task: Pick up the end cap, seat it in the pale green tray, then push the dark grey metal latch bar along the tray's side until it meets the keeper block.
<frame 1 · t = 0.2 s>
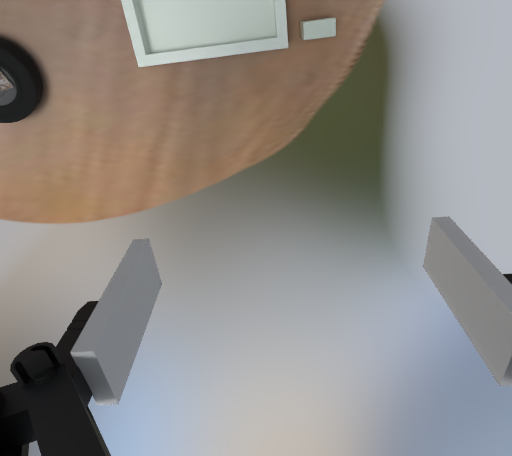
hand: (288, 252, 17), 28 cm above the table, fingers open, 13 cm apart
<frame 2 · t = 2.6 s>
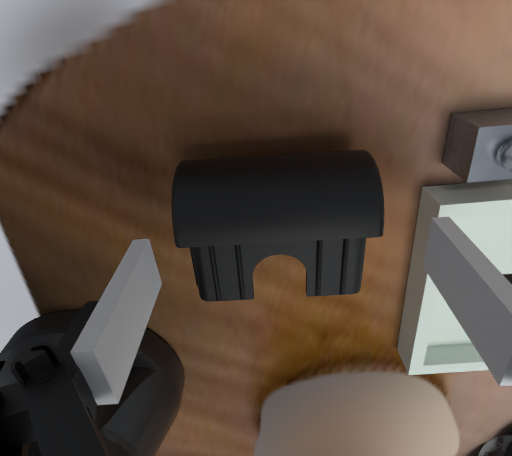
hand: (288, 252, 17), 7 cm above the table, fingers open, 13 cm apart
end cap: (272, 190, 23), on the table
latch: (499, 146, 20), point 2 cm above the table, slide at 0.0 cm
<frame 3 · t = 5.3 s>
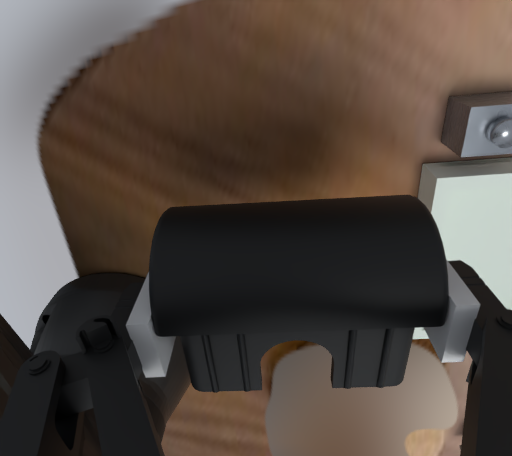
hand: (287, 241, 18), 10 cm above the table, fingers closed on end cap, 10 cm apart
end cap: (286, 234, 19), point 9 cm above the table, touching gripper
latch: (491, 125, 22), point 2 cm above the table, slide at 0.0 cm
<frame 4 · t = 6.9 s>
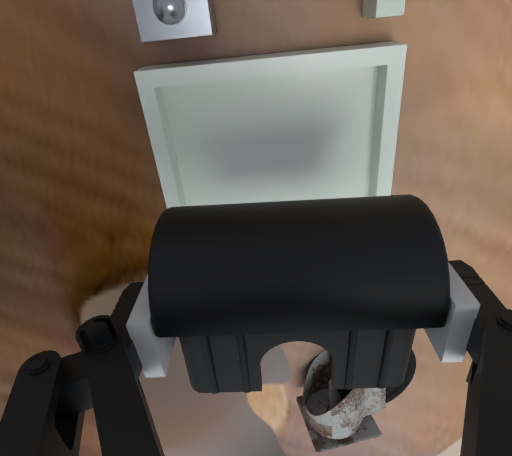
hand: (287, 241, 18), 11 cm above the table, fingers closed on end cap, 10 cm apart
end cap: (286, 234, 18), point 10 cm above the table, touching gripper
pale green tray: (274, 163, 27), on the table
latch: (175, 7, 20), point 2 cm above the table, slide at 0.0 cm
caster wheel: (349, 353, 38), on the table
when the fingers open (3 cm above the table, at t = 8.6 s): end cap drops 2 cm, resting on pale green tray.
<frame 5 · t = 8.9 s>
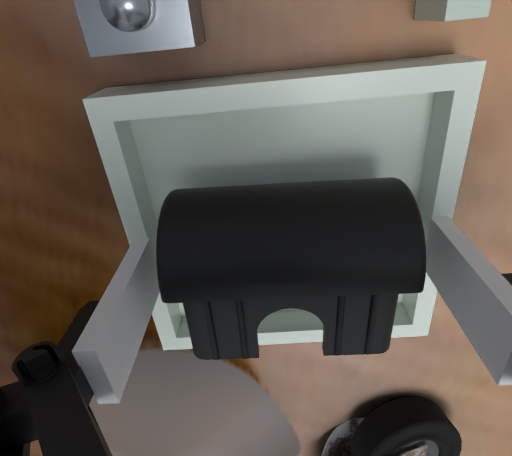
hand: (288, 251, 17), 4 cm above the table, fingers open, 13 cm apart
end cap: (281, 218, 20), point 1 cm above the table, touching pale green tray
pale green tray: (284, 214, 20), on the table
latch: (140, 5, 14), point 2 cm above the table, slide at 0.0 cm
caster wheel: (374, 424, 31), on the table
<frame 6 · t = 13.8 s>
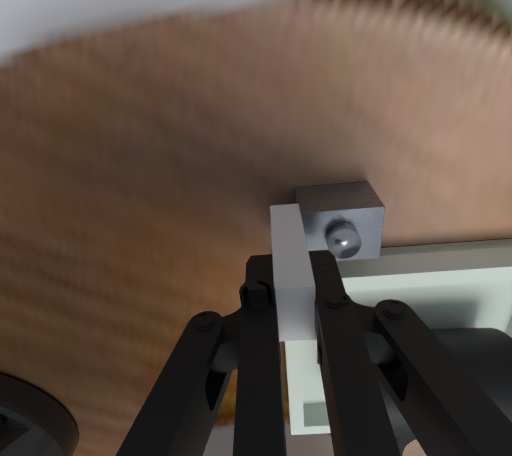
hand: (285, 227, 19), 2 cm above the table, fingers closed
end cap: (397, 339, 25), point 1 cm above the table, touching pale green tray
pale green tray: (396, 333, 26), on the table
latch: (337, 225, 19), point 2 cm above the table, slide at 0.2 cm, touching gripper
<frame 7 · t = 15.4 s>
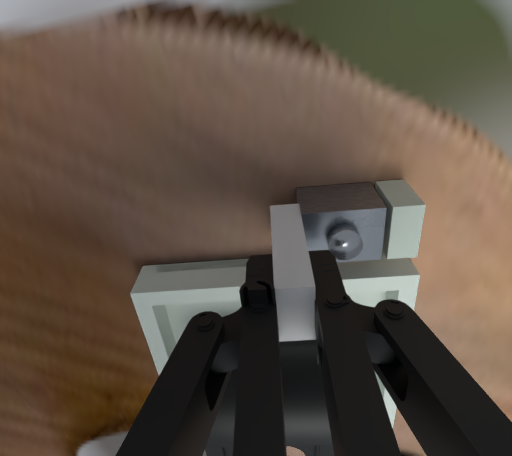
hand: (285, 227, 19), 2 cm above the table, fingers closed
end cap: (276, 347, 25), point 1 cm above the table, touching pale green tray
pale green tray: (277, 342, 26), on the table
latch: (338, 226, 19), point 2 cm above the table, slide at 8.7 cm, touching gripper
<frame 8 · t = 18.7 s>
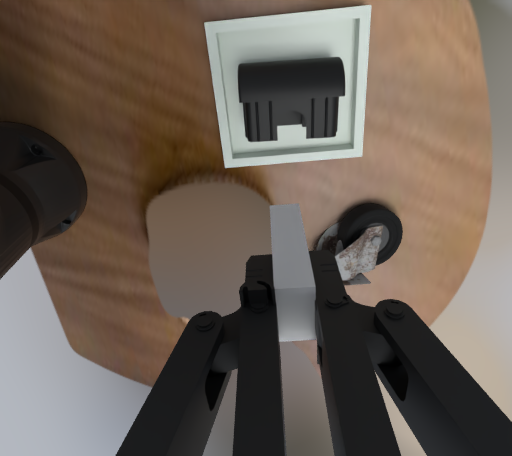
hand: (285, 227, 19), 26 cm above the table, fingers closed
end cap: (287, 91, 40), point 1 cm above the table, touching pale green tray
pale green tray: (288, 90, 41), on the table
caster wheel: (352, 230, 50), on the table
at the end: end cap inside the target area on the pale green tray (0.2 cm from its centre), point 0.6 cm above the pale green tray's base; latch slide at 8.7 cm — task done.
